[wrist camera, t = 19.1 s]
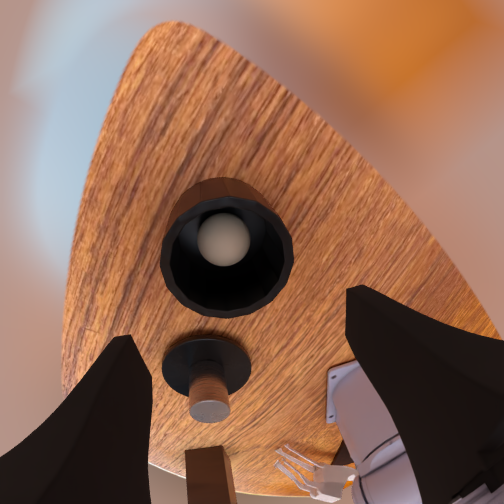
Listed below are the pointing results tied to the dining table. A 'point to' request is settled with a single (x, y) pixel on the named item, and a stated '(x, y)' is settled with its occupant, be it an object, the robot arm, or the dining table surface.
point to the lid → (206, 374)
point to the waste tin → (234, 276)
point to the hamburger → (342, 456)
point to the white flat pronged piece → (319, 476)
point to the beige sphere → (223, 239)
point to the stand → (209, 476)
